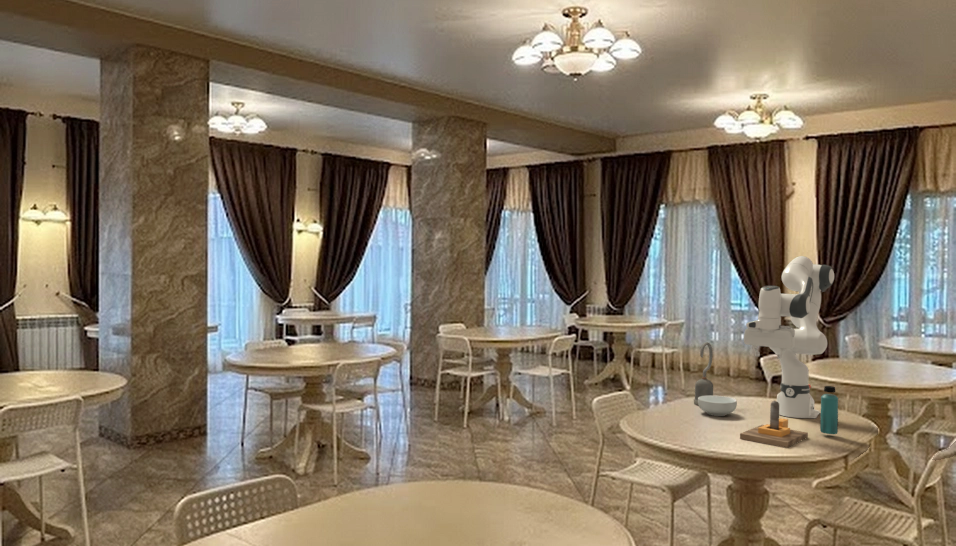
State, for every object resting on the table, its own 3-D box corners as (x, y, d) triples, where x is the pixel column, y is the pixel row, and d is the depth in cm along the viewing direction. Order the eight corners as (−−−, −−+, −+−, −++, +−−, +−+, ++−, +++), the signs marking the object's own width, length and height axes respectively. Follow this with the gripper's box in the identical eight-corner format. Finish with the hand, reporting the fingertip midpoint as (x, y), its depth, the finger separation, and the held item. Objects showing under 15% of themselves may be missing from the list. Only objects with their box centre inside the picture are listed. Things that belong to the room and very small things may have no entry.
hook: (719, 404, 347) (721, 342, 347) (708, 407, 339) (710, 344, 338) (701, 401, 354) (702, 340, 353) (689, 404, 345) (690, 342, 345)
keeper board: (762, 429, 296) (763, 394, 296) (807, 437, 284) (808, 400, 284) (739, 438, 280) (740, 401, 280) (787, 447, 268) (788, 408, 268)
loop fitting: (772, 426, 293) (773, 416, 293) (795, 430, 287) (795, 420, 287) (758, 432, 282) (758, 422, 282) (781, 437, 276) (781, 426, 276)
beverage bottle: (839, 438, 283) (841, 388, 283) (821, 437, 285) (823, 387, 284) (835, 434, 290) (836, 385, 289) (817, 433, 291) (818, 384, 291)
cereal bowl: (697, 409, 335) (697, 394, 335) (735, 411, 330) (735, 396, 330) (698, 416, 318) (698, 400, 318) (737, 419, 314) (738, 403, 314)
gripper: (797, 326, 296) (796, 359, 297) (748, 322, 310) (747, 354, 311) (792, 327, 292) (791, 360, 292) (742, 323, 306) (741, 355, 306)
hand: (768, 357), depth 301 cm, fingers open, 8 cm apart
